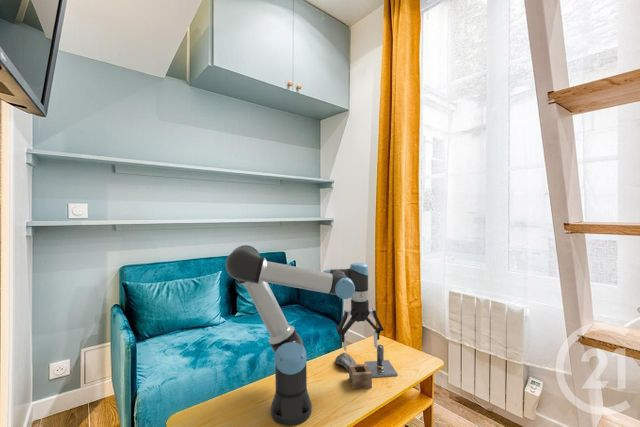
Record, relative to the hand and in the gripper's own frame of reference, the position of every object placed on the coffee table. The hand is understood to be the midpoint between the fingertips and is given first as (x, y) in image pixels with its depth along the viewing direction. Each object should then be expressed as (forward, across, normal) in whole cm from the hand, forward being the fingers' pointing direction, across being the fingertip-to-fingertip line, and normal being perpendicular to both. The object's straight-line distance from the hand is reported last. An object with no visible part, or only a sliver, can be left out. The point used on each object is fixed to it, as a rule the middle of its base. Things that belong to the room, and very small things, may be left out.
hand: (360, 348), depth 128 cm
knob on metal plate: (+15, +12, +9) cm, 21 cm away
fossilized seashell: (+16, -4, +15) cm, 22 cm away
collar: (+15, 0, 0) cm, 15 cm away
